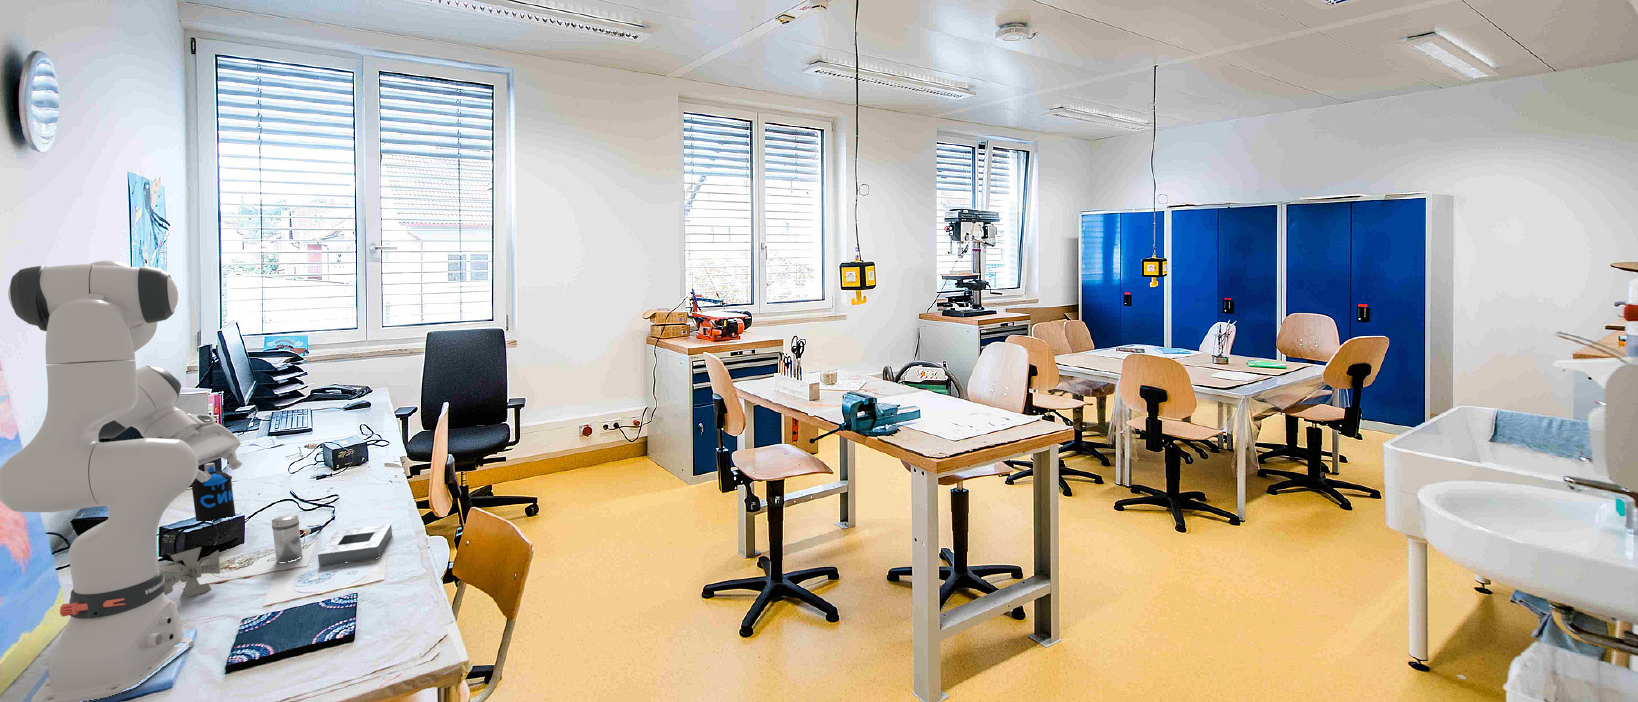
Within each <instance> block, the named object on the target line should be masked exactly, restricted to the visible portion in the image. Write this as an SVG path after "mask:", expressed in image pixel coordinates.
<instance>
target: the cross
mask: <svg viewBox="0 0 1638 702" xmlns="http://www.w3.org/2000/svg"><path fill="white" fill-rule="evenodd" d="M201 550H202V546H198V547H195V548H192V549H188V550H184V551H182V552H178V553H175V554H171V555H170V558H171V559H172V560H173V561H174V563H176V562H179V561H183V563H184V565H182V566H180V567H179V571H178V570H176V571H175V570H174V571H172V570H171V571H170V570H166V571H163V570H162V572H163V576H164V579H165V590H164V591H163V592H164V594H165V595H166V596H168V595H169V594H171V593H172V592H173V590H174V588H173V586H174V585H176V584H177V583H178V582H179V583H180V582H182V583H185V586H184V588H183V591H182V594H181V595H180V599H179V600H184V599H186V598H190V597H192V596H195V595H198V594H201V593H204V592H205V593H206V592H207V591H211V590H212V587H211V586H210V585H209V583H204V584H200V582H199V581H198V579H199V578H201V577H202V574H217V575H219V574H220V573H221V565H220V550H219V549H217V550H216V551H214V552H212V553H210V555H209V557H210V560H208V561H207V562H205V563H204V564H201V562H199V561H198V560H199V556H200V553H201Z"/></svg>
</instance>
